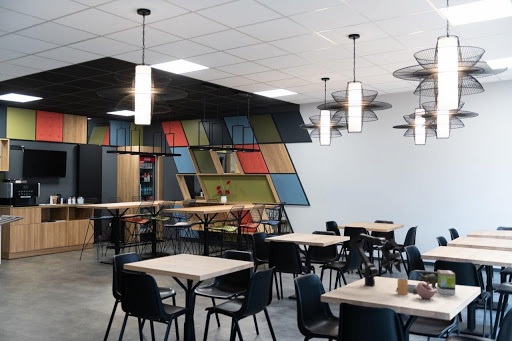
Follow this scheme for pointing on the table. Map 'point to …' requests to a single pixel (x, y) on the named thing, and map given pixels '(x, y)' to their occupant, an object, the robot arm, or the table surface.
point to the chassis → (411, 288)
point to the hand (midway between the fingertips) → (396, 273)
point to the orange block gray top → (402, 286)
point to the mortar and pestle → (425, 290)
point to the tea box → (446, 282)
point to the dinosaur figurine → (429, 279)
